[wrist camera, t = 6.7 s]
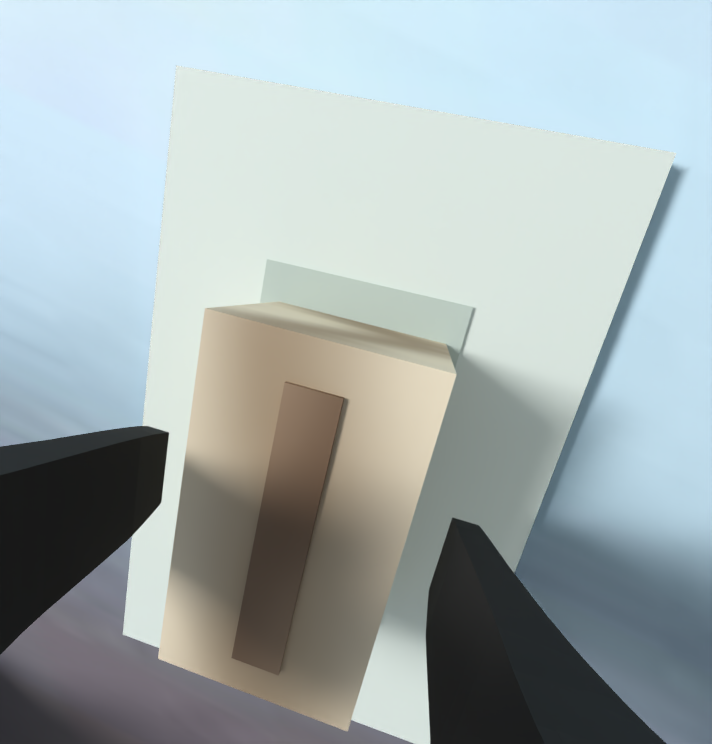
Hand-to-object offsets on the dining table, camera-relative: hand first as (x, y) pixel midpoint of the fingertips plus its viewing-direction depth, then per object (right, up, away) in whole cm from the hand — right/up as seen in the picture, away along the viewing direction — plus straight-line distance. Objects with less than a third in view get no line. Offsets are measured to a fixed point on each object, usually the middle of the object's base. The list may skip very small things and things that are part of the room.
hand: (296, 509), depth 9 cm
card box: (+1, 0, +3) cm, 3 cm away
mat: (+1, +1, +3) cm, 4 cm away
